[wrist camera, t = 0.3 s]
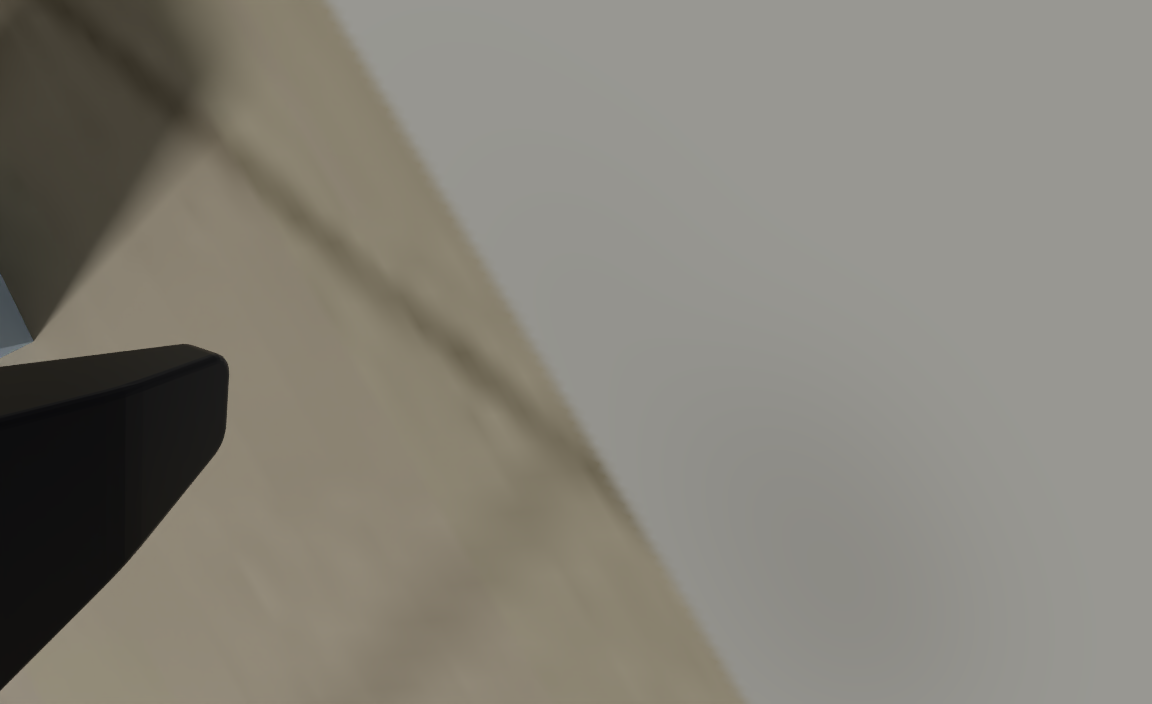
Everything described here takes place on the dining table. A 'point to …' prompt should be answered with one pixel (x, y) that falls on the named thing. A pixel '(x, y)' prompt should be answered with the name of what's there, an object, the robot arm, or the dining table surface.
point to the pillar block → (11, 323)
